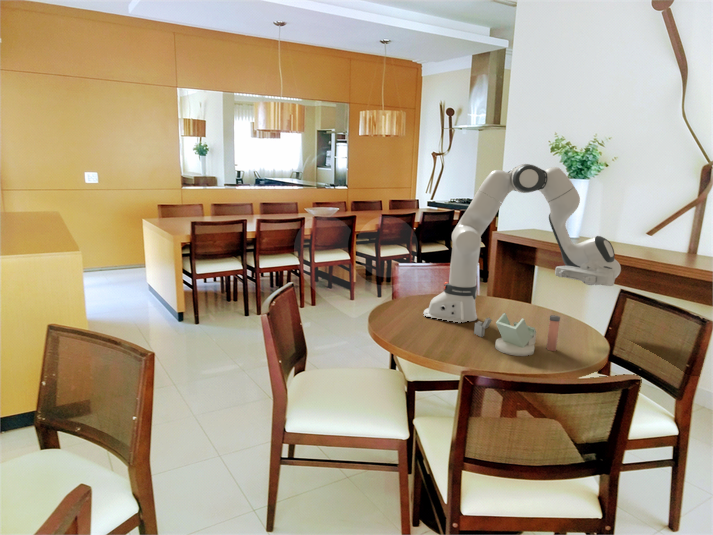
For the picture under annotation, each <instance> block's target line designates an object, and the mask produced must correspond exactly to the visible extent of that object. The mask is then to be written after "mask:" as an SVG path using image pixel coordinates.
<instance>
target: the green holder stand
mask: <svg viewBox="0 0 713 535" xmlns="http://www.w3.org/2000/svg"><path fill="white" fill-rule="evenodd" d="M495 324H496V327H497V330H498V331H499V334H500V336H501V337H499V338H497V339H495V343H494V344H495V347H494V348H495V349H496V350H497V351H499V352H500V353H503V354H506V355H509V356H516V357H527V356H528V355H529V356H532V355H534V354H535V349H536V348H535V344H536V339H537V329H536V328H535V327H534V326H530V325H527V323H526V320H525V318H523V317H522V318H521V319H520V321H518V322H517V321H513V325H511V322H510V320H509V318H508V315H507V313H506V312H503V313H502V315H500V317H499V318H498V319H497V320H496V322H495Z"/></svg>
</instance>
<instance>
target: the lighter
mask: <svg viewBox="0 0 713 535" xmlns="http://www.w3.org/2000/svg"><path fill="white" fill-rule="evenodd" d="M492 321H493V320H492V319H491V318H490V317H486V318H485V320H484V322H482V321H480V320H478V321H477V322H474V328H473V330H474V331H473V335H475V334H476V336H477V335H478V337H480V338H484V337H485V332H486V329H489V326H490V324H491V322H492ZM483 336H484V337H483Z"/></svg>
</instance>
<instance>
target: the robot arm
mask: <svg viewBox="0 0 713 535" xmlns="http://www.w3.org/2000/svg"><path fill="white" fill-rule="evenodd" d="M512 191H514V192H518V193H520V194H521V193H523V194H527V193H532V192H536V191H539V192H540V193H541V194H542V195H543V196H544V199H545V200H546V201H547V203H548V206H549V209H550V213H549V214H548V220H549V224H550V227H551V230H552V233H553V236H554V238H555V240H556V242H557V245H558V247H559V250H560V253H561V258H562V262H563V264H564V265H559V266H555V271H554V274H555V276H556V277H559V278H565V279H568V280H569V279H570V280H574V281H575V280H576V281H580V282H582V284H585V285H587V286H605V287H613V286H614V285H615V280H616V278H618V276H619V275H620V274H621V272H622V267H621V264H620V263H619V261H618V260H616V258H615V254H616V253H615V250H614V247H613V245H612V242H610V241H609V240H608V239H606V238H605V237H603V236H601V235H596V236H594V237H593V236H592V237H591V238H588V239H585V240H583V241H581V242H578V243H573V242H572V240H571V236H570V235H569V232H568V229H567V226H566V224H567V221H568V219H569V218H570V217H571V216H572V215H573V214H574V213H575V212H576V211H577V210H578V208H579V205H580V203H581V202H580V200H581V198H580V197H581V196H580V194H579V192H578V190H577V188H576V187H575V185H574V184H573V182H572V181H571V180H570V178H569V177H568V176H567V174H566V173H565V172H564V171H563V170H562V169H561V168H560V167H557V166H552V167H549V168H545V169H542V168H541V167H538V166H536V165H534V164H529V163H523V164H520V165H517V166H515V167H514V168H513V169H510V170H509V171H504V170H502V169H495V170H492V171H490V172H489V174H488V175H486V177H485V179H484V180H483V181H482V183H481V185H480V186H479V188H478V189H477V191H476V193H475V194H474V196H473V198H472V200H471V202H470V204H469V205H468V207H467V208H466V210H465V211H464V213H463V215H462V216H461V217H460V219H459V221H458V223H457V224H456V226H455V227H454V228H453V231H452V232H451V242H452V245H451V246H452V248H451V256H450V264H449V276H448V277H449V278H448V281H449V282H448V281H445V282H444V283H443V291H442V292H441V293H439V294H437V295H436V296H434V297H433V298H432V299H431V300H430V302H429V306H428V307H427V308H425V309H424V310H423V313H422V315H423V314H424V315H423V317H425V316H426V317H431V318H430V319H432V318H437V319H436V320H438V319H442V320H441V321H443V320H447V321H446V322H449V321H453V322H452V323H455V322H458V323H457V324H461V322H462V323H465V322H467V321H469V322H474V321H476V320H478V315H477V310H476V299H477V291H478V286H477V277H478V276H477V275H478V266H479V259H480V253H481V245H482V238H481V237H482V235H483V234H484V232H485V231H486V229H487V228H488V226H489V225H490V224H491V223H492V222H493V220H494V219H495V217H496V215H497V213H498V211H499V210H500V209H501V207H502V204H503V203H504V201H505V200H506V197H508V195H509V194H510V193H511V192H512ZM426 317H425V318H426ZM467 323H468V322H467Z"/></svg>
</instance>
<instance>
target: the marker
mask: <svg viewBox="0 0 713 535" xmlns="http://www.w3.org/2000/svg"><path fill="white" fill-rule="evenodd" d="M560 321H561V316H559V315H556V314H555V315H549V321H548V322H549V323H548V331H547V339H546V350H547V351H551V352H555V351H557V346H558V336H559V330H560V328H559V327H560Z"/></svg>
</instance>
